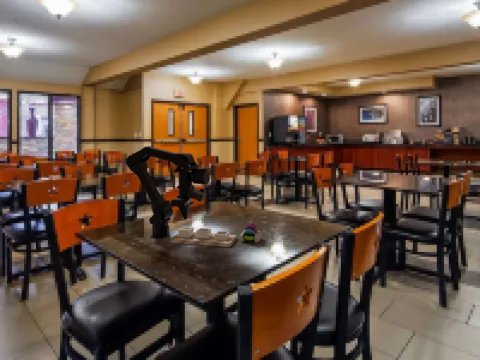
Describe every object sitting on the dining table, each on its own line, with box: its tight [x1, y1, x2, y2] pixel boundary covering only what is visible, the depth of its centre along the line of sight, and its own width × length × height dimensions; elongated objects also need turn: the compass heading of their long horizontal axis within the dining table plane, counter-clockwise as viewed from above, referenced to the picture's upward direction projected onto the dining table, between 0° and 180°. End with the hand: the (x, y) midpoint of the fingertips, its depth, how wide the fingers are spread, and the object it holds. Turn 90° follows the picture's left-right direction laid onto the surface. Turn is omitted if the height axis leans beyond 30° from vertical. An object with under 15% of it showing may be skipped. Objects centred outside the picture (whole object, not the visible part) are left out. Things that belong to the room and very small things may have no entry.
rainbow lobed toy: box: [239, 223, 263, 244], centre depth 147 cm, size 8×10×7 cm
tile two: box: [195, 227, 212, 240], centre depth 147 cm, size 5×5×3 cm
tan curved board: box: [169, 231, 238, 248], centre depth 147 cm, size 26×12×2 cm, turn 77°
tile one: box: [177, 226, 195, 238], centre depth 149 cm, size 5×5×3 cm
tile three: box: [214, 230, 230, 241], centre depth 145 cm, size 5×5×3 cm
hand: (185, 219), depth 148 cm, fingers closed
